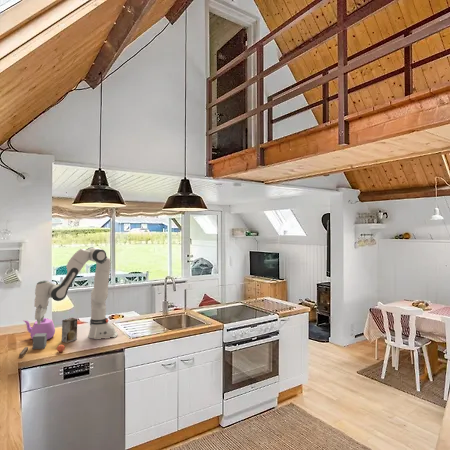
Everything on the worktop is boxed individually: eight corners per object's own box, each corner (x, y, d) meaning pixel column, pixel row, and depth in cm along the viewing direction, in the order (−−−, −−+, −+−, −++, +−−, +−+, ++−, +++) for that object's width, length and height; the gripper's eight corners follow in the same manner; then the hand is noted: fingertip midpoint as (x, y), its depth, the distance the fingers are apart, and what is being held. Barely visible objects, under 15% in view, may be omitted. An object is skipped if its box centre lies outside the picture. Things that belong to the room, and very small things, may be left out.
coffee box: (71, 338, 271) (72, 317, 272) (77, 339, 268) (77, 318, 268) (61, 341, 263) (62, 319, 264) (66, 342, 260) (67, 321, 260)
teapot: (57, 332, 284) (58, 314, 284) (51, 340, 263) (52, 321, 263) (27, 333, 278) (27, 314, 278) (18, 342, 258) (19, 321, 258)
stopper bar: (28, 350, 242) (28, 346, 242) (22, 357, 228) (22, 354, 228) (24, 350, 241) (25, 347, 241) (19, 358, 228) (19, 354, 228)
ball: (65, 350, 244) (65, 343, 244) (64, 353, 240) (64, 345, 240) (57, 351, 243) (57, 343, 243) (56, 353, 238) (56, 346, 238)
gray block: (46, 345, 254) (46, 333, 254) (44, 348, 247) (44, 336, 247) (35, 345, 252) (35, 333, 252) (32, 349, 245) (33, 336, 245)
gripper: (43, 306, 240) (42, 326, 240) (49, 300, 260) (48, 319, 260) (33, 306, 239) (31, 327, 238) (39, 300, 258) (38, 319, 258)
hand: (40, 322), depth 249 cm, fingers open, 8 cm apart
